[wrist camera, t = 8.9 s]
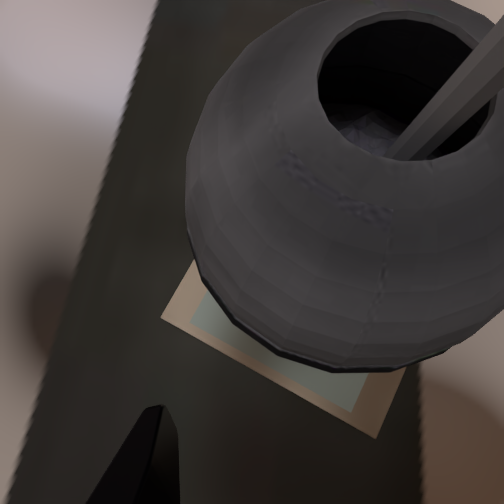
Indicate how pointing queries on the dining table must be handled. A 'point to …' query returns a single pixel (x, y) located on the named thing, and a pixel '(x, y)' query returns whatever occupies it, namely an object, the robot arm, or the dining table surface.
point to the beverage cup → (355, 184)
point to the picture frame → (283, 361)
